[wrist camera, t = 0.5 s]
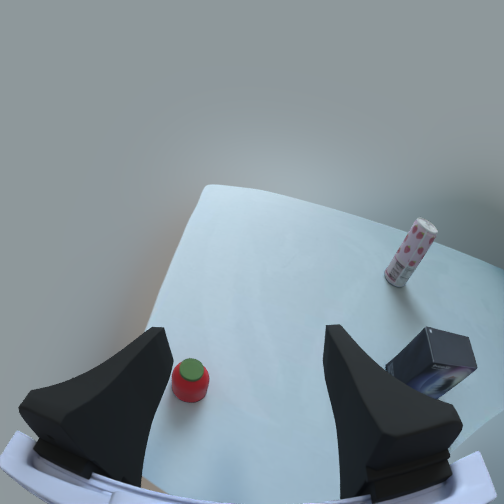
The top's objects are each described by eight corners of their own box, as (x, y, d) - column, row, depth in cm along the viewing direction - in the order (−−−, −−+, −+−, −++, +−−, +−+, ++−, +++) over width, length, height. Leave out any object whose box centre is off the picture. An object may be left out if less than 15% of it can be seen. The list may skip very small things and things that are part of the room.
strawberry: (202, 407, 29) (206, 391, 26) (167, 396, 29) (166, 378, 25) (210, 377, 32) (215, 358, 29) (178, 367, 32) (178, 346, 29)
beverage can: (402, 275, 59) (435, 224, 50) (405, 291, 55) (441, 237, 46) (383, 267, 60) (414, 213, 51) (384, 282, 56) (419, 225, 47)
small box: (387, 399, 33) (433, 362, 27) (384, 364, 39) (423, 323, 32) (435, 402, 33) (479, 368, 27) (430, 371, 39) (468, 334, 32)
